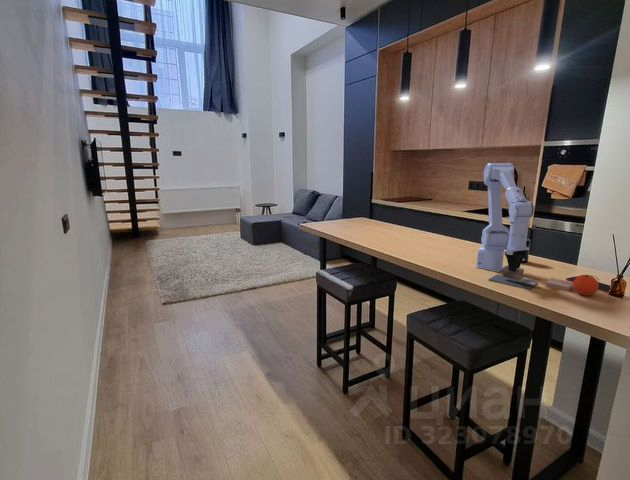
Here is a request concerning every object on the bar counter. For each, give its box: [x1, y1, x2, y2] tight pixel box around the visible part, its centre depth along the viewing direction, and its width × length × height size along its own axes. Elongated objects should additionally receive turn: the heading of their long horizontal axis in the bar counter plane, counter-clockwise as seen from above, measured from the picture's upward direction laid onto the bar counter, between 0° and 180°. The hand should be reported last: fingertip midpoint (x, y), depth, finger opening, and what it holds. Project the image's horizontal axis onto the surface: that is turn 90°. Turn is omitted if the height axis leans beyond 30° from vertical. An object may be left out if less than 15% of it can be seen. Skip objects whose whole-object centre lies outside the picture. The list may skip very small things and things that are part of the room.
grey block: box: [502, 264, 539, 286], centre depth 130 cm, size 11×4×4 cm, turn 43°
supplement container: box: [521, 238, 532, 264], centre depth 159 cm, size 7×7×10 cm
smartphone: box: [565, 275, 611, 293], centre depth 130 cm, size 7×1×15 cm
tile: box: [545, 277, 574, 292], centre depth 128 cm, size 2×7×7 cm
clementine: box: [572, 274, 600, 296], centre depth 119 cm, size 8×7×7 cm
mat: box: [487, 274, 536, 291], centre depth 133 cm, size 14×9×1 cm, turn 43°
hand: (513, 270), depth 132 cm, fingers closed on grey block, 3 cm apart
